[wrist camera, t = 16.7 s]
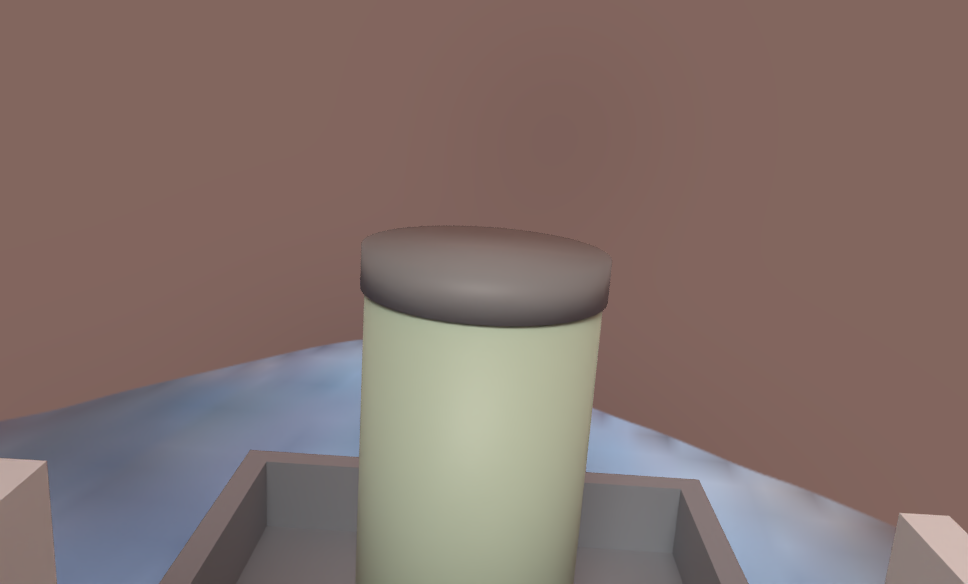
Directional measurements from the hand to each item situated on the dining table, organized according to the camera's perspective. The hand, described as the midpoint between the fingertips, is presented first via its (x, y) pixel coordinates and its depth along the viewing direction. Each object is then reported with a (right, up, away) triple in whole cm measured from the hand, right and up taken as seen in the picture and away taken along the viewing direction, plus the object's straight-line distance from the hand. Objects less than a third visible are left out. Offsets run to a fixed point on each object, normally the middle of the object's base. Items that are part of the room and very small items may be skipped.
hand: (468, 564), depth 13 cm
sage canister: (0, -6, +9) cm, 11 cm away
